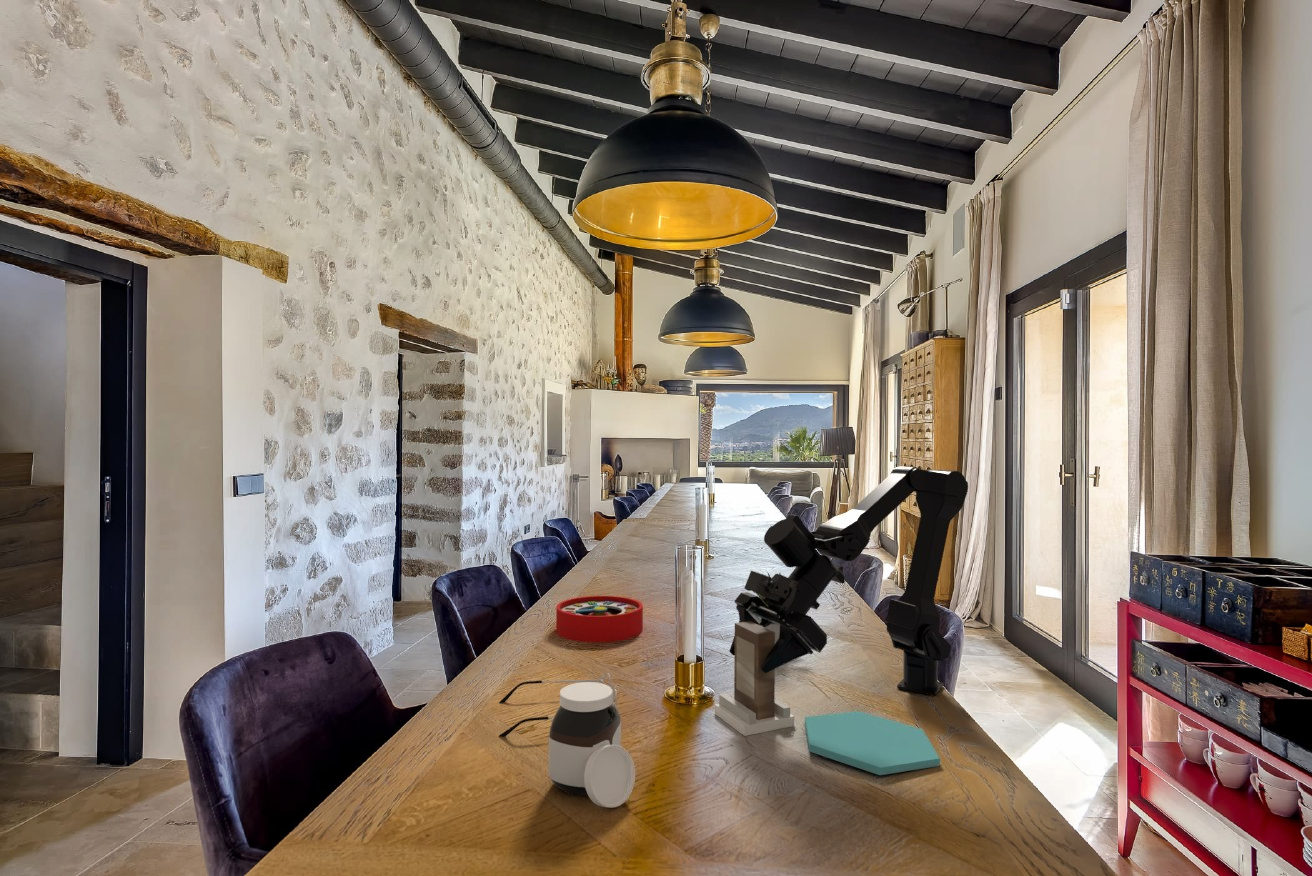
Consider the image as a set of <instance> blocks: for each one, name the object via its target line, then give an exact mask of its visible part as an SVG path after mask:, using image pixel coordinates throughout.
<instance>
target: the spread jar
mask: <svg viewBox="0 0 1312 876" xmlns="http://www.w3.org/2000/svg"><path fill="white" fill-rule="evenodd" d="M613 692H614V691H613V688H612V689H611V687H609V685H607V684H605V683H604V684H603V683H601V682H574V683H572V684H568V685H566V686H563V687H562V688H561V689H560V691H559V705H560V706H559V707H558V708H557V711H556V712H555V715H553V717H554V718H552V722H551V725H550V728H549V734H548V735H549V736H548V774H549V779H550V781H551V782H552V783H553V785H554V786H556V787H558V788H559V789H560V790H562V791H564V792H565V793H568V794H570V795H574V796H575V795H576V796H588V798H589V799H590V800H591V802H593V803H594V804H595V805H596V806H599V807H602V808H611V809H613V808H618V807H620V806H622V805H623V804H624V803H625V802H627V801H628V799H629V797H630V796H631V794H632V791H633V789H634V786H635V781H636V769H635V768H636V767H635V764H634V761H633V758H632V756H631V754H630V753H629V752H628V750H627V749H625V748H624V747H623V746H622V720H621V713H620V711H619V709H618V707H617V708H616V706H615V703H612V702H613Z"/></svg>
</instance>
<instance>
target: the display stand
mask: <svg viewBox="0 0 1312 876" xmlns="http://www.w3.org/2000/svg"><path fill="white" fill-rule="evenodd" d="M714 715H716V716H717V717H718V718H719V719H721V720H722V721H724V722H725V723H726V724H728V725H729V726H730V727H732V728H733V729H734V730H736V731H737V732H738V733H740V734H741V735H742V736H744V737H747V736H752V735H756V734H760V733H761V734H762V733H767V732H771V731H776V730H781V729H782V730H783V729H786V728H792V727H795V716H794V715H793V714H792V713H791V707H790V706H789V705H787V704H786V703H784V702H782V701H781V700H779V699H777V698H775V710H774V717H771V718H766V719H761V720H757V719H756V713H754V712H753V711H751V710H750V709H748V708H747V707H745V706H744V705H742V704H741V703H739V702H738V701H736V700H735V699H734V698H733V697H732V696H730V695H729V694H727V693H725V692H724V693H720V694H719V695H718V703H715V704H714Z"/></svg>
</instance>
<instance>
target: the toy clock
mask: <svg viewBox="0 0 1312 876" xmlns="http://www.w3.org/2000/svg"><path fill="white" fill-rule="evenodd" d="M555 607H556V610H555V611H556V613H555V614H556V615H555V616H556V619H555V620H556V622H555V623H556V624H555V630H556V631H555V632H556V634H557V635H558V636H560V637H562V638H564V639H566V640H569V641H574V642H582V643H611V642H620V641H625V640H628V639H629V640H630V639H633V638H635V637H638V636H639V635H641V634H642V632H643V631H644V628H643V627H644V625H643V623H644V619H643V616H644V613H643V612H644V605H643V602H641V601H639V600H637V599H633V598H630V597H625V596H617V595H616V596H615V595H590V596H581V597H580V596H579V597H573V598H569V599H568V598H567V599H565V600H562V601H561V602H558V604H557V605H556V606H555Z"/></svg>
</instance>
